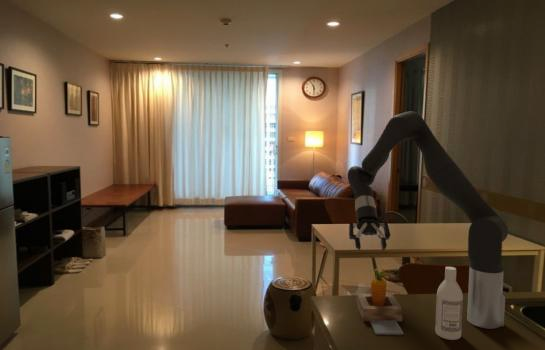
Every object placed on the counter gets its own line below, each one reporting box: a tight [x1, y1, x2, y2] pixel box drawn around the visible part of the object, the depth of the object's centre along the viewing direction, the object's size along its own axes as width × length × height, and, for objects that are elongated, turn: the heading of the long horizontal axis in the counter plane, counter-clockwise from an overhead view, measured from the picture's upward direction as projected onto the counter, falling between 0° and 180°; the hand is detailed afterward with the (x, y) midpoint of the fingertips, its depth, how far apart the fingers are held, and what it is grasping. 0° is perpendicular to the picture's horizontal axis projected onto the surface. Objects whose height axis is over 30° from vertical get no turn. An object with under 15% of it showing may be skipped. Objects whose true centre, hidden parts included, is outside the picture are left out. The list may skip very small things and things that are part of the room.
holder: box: [356, 293, 403, 323], centre depth 133 cm, size 12×12×4 cm
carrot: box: [370, 268, 387, 306], centre depth 132 cm, size 5×5×15 cm
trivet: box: [369, 320, 404, 336], centre depth 123 cm, size 8×8×1 cm
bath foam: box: [434, 266, 464, 341], centre depth 117 cm, size 7×7×20 cm
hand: (371, 249), depth 143 cm, fingers open, 8 cm apart
